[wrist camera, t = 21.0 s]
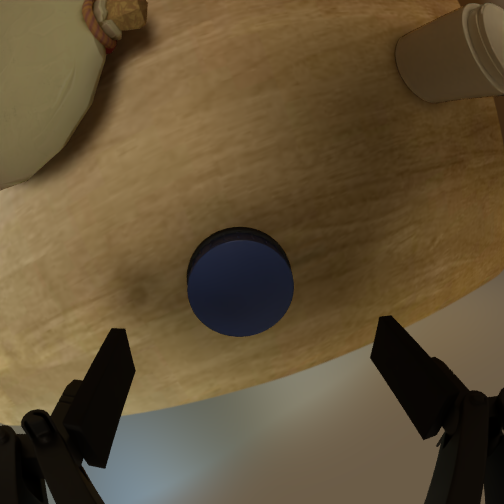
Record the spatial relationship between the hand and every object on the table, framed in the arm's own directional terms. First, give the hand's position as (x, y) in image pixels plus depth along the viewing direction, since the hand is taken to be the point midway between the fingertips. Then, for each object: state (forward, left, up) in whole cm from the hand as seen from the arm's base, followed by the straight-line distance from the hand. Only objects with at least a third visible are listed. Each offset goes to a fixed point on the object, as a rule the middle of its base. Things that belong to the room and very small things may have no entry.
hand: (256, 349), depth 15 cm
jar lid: (0, 0, -7) cm, 7 cm away
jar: (-5, -24, -10) cm, 27 cm away
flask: (+21, -7, -10) cm, 25 cm away
